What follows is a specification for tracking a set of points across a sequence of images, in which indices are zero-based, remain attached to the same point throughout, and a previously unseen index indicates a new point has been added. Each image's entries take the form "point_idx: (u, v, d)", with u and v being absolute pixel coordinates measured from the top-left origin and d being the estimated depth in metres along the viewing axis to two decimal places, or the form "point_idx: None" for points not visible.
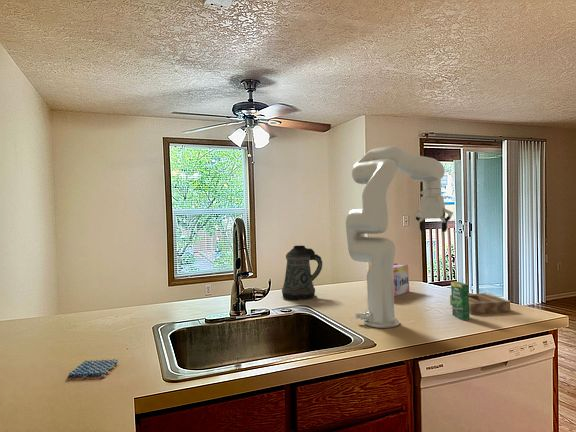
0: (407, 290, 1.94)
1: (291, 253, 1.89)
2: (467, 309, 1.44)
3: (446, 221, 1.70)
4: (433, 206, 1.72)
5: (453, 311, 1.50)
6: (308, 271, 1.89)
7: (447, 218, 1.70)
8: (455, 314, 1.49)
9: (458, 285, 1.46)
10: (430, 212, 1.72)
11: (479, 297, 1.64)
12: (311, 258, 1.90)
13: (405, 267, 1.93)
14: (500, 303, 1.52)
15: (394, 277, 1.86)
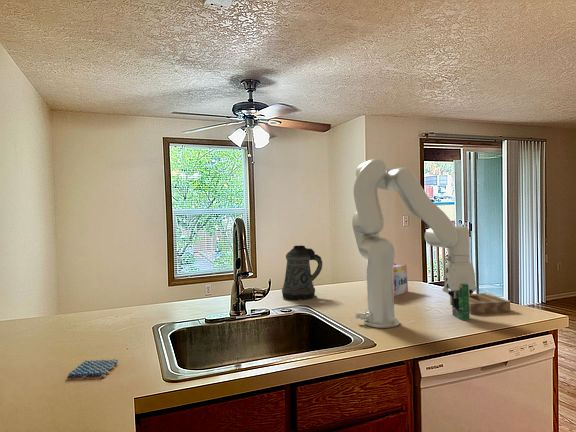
0: (406, 290, 1.94)
1: (291, 253, 1.89)
2: (467, 309, 1.44)
3: (469, 296, 1.47)
4: (467, 276, 1.45)
5: (453, 311, 1.50)
6: (308, 271, 1.89)
7: (470, 292, 1.47)
8: (455, 314, 1.49)
9: None
10: (463, 283, 1.45)
11: (479, 297, 1.64)
12: (311, 258, 1.90)
13: (404, 267, 1.93)
14: (500, 303, 1.52)
15: (393, 277, 1.86)
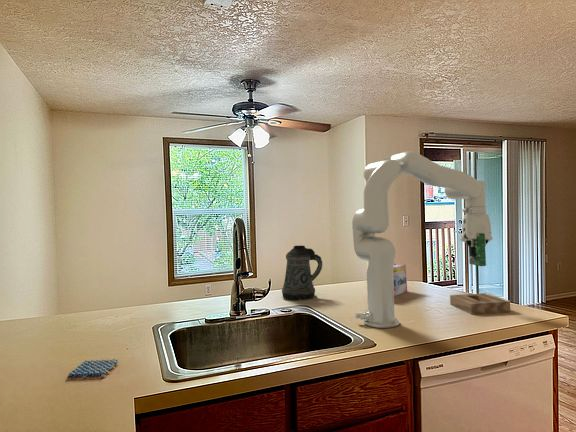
0: (405, 290, 1.94)
1: (291, 253, 1.89)
2: (484, 256, 1.55)
3: (485, 245, 1.59)
4: (483, 226, 1.56)
5: (470, 260, 1.62)
6: (308, 271, 1.89)
7: (486, 241, 1.59)
8: (472, 262, 1.60)
9: None
10: (480, 232, 1.56)
11: (479, 297, 1.64)
12: (311, 258, 1.90)
13: (403, 267, 1.93)
14: (500, 303, 1.52)
15: (393, 277, 1.86)
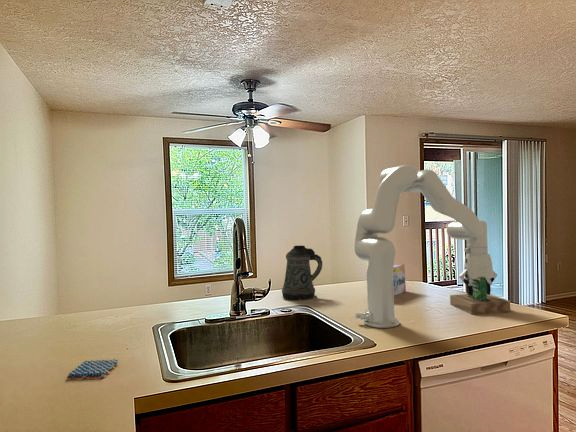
0: (404, 290, 1.95)
1: (291, 253, 1.89)
2: (485, 300, 1.56)
3: None
4: (485, 266, 1.57)
5: None
6: (308, 271, 1.89)
7: (492, 280, 1.59)
8: None
9: None
10: (482, 272, 1.57)
11: None
12: (311, 258, 1.90)
13: (402, 267, 1.94)
14: (500, 303, 1.52)
15: None
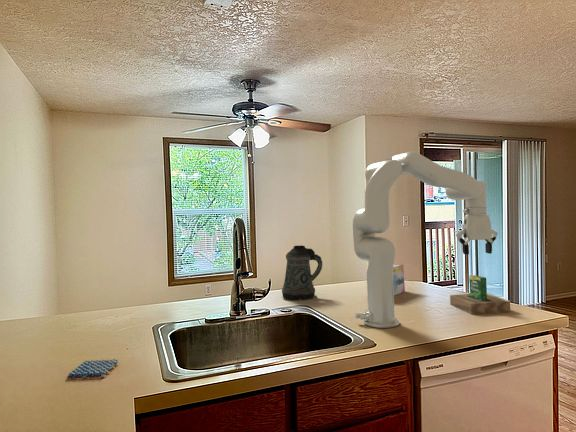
0: (403, 290, 1.95)
1: (291, 253, 1.89)
2: (485, 300, 1.56)
3: (492, 242, 1.59)
4: (484, 227, 1.57)
5: None
6: (308, 271, 1.89)
7: (493, 239, 1.59)
8: None
9: (476, 278, 1.58)
10: (481, 233, 1.57)
11: None
12: (311, 258, 1.90)
13: (401, 267, 1.94)
14: (500, 303, 1.52)
15: None
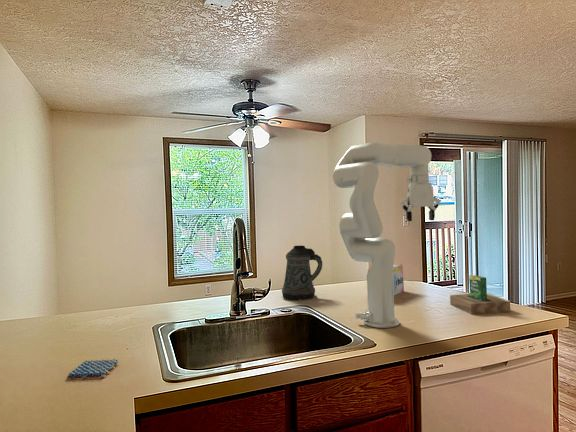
0: (402, 290, 1.95)
1: (291, 253, 1.89)
2: (485, 300, 1.56)
3: (435, 209, 1.65)
4: (426, 194, 1.63)
5: None
6: (308, 271, 1.89)
7: (436, 206, 1.65)
8: None
9: (476, 278, 1.58)
10: (423, 200, 1.63)
11: None
12: (311, 258, 1.90)
13: (400, 267, 1.94)
14: (500, 303, 1.52)
15: None
